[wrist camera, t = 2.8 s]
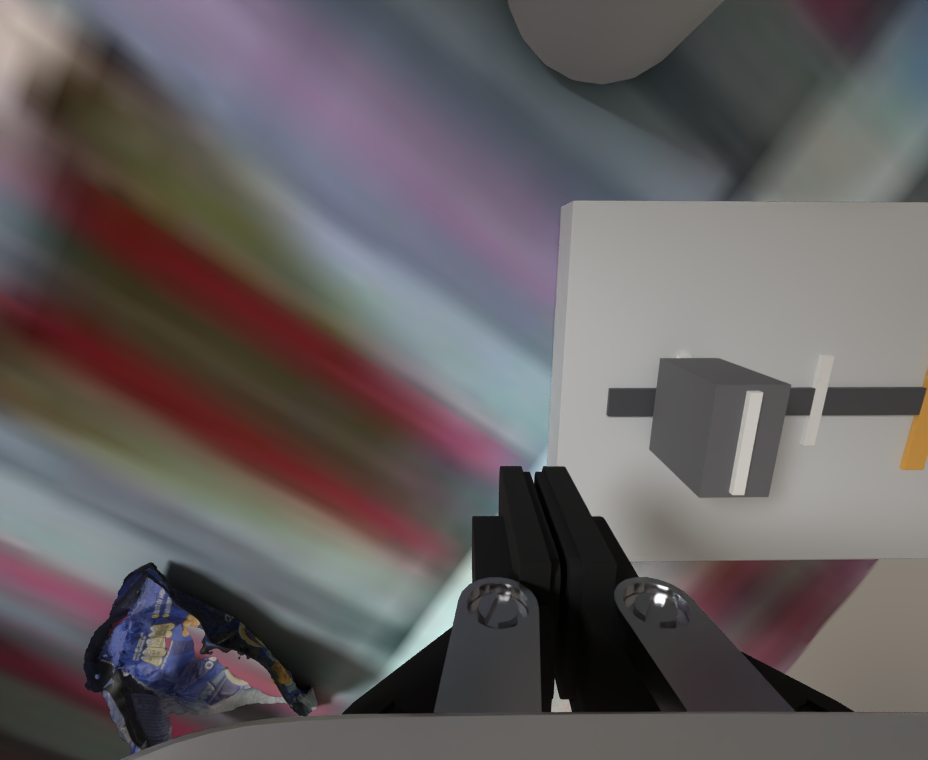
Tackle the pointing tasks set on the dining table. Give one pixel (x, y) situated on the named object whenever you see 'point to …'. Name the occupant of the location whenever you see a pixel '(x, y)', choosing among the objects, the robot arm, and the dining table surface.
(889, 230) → the console board
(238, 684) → the snack package
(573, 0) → the can
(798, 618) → the dining table surface
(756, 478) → the fader knob
